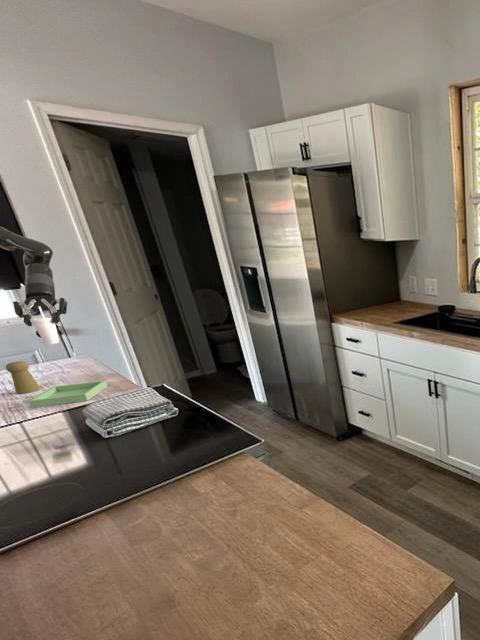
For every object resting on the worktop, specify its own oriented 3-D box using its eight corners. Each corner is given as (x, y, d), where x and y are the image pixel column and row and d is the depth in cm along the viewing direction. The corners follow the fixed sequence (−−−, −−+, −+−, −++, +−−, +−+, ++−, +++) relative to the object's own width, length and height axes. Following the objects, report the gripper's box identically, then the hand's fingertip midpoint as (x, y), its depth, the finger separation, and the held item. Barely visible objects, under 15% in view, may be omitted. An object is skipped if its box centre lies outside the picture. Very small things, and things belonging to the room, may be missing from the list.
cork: (30, 387, 153) (16, 359, 149) (45, 387, 153) (32, 359, 149) (11, 394, 147) (-4, 365, 143) (27, 394, 147) (13, 365, 143)
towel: (86, 429, 120) (75, 404, 117) (161, 406, 135) (153, 384, 132) (105, 441, 113) (94, 416, 110) (182, 416, 127) (174, 393, 124)
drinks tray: (31, 407, 135) (27, 401, 134) (56, 392, 148) (53, 386, 147) (87, 400, 140) (85, 394, 140) (107, 386, 153) (105, 380, 152)
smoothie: (61, 343, 157) (46, 307, 152) (37, 346, 153) (21, 309, 148) (66, 340, 162) (51, 304, 156) (43, 342, 158) (27, 306, 153)
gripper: (70, 292, 165) (73, 326, 160) (19, 296, 158) (20, 332, 153) (60, 280, 159) (63, 315, 154) (6, 283, 152) (8, 320, 147)
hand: (42, 323), depth 153 cm, fingers closed on smoothie, 6 cm apart
